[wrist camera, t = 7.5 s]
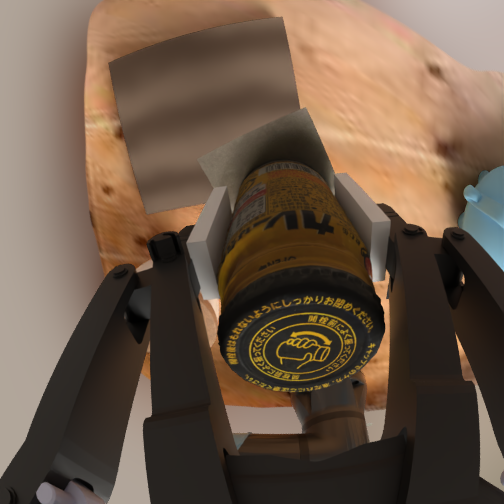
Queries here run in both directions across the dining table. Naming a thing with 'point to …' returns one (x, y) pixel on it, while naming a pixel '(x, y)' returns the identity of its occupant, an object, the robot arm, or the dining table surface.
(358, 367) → the condiment
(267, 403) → the dining table surface
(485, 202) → the teapot
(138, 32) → the dining table surface
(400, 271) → the robot arm
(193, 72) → the grey flat square piece
